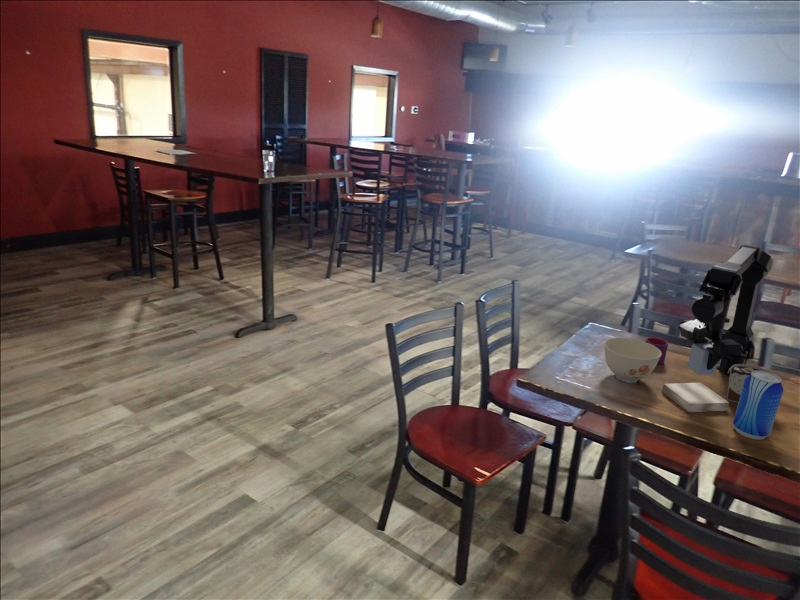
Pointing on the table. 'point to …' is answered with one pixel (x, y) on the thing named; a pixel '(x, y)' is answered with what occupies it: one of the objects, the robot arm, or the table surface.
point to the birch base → (695, 397)
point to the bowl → (630, 358)
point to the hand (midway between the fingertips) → (702, 365)
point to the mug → (659, 347)
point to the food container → (739, 379)
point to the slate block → (700, 359)
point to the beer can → (758, 405)
